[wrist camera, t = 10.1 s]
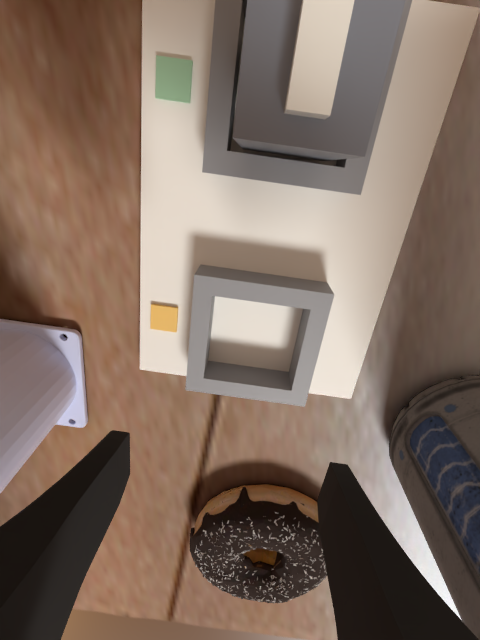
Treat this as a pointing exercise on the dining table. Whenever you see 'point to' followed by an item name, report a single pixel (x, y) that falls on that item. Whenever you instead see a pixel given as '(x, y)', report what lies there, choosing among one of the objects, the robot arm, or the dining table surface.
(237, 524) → the donut
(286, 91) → the plug
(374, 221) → the panel
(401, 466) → the beverage bottle
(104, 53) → the dining table surface
